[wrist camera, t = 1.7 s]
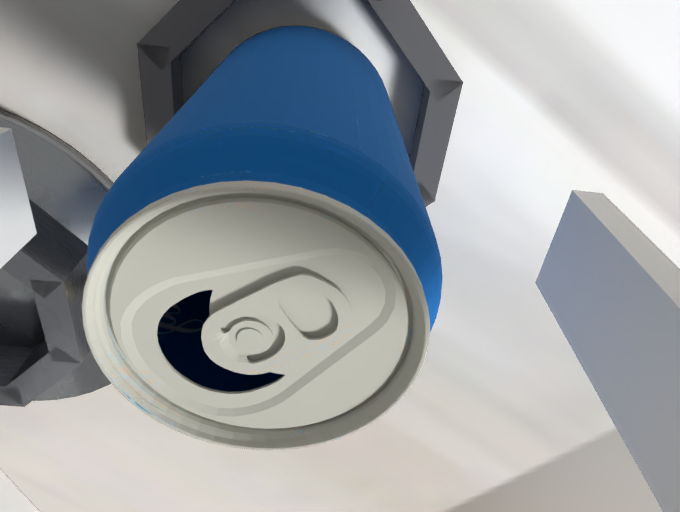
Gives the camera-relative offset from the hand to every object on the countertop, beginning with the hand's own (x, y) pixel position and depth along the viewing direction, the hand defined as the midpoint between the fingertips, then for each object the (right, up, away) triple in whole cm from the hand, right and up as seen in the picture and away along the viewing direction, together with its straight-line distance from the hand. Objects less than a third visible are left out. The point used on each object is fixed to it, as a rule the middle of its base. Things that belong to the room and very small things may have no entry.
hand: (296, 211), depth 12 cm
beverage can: (0, +4, +6) cm, 8 cm away
